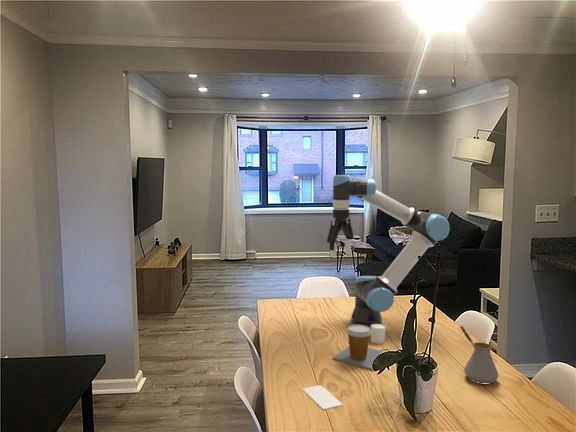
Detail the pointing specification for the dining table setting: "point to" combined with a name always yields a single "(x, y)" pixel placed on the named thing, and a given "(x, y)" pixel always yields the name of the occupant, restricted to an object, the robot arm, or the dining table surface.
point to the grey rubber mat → (365, 364)
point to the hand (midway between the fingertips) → (340, 255)
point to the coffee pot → (480, 363)
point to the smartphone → (322, 397)
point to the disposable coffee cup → (358, 341)
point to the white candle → (378, 333)
